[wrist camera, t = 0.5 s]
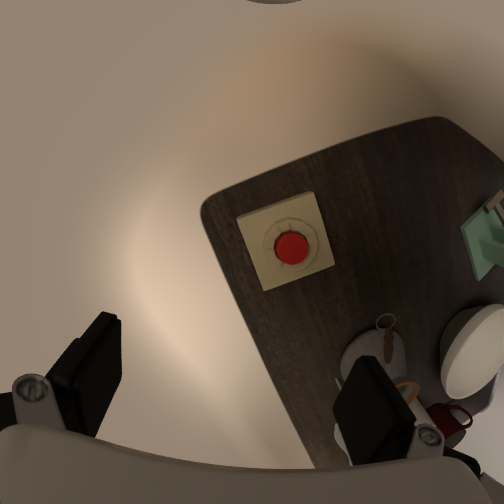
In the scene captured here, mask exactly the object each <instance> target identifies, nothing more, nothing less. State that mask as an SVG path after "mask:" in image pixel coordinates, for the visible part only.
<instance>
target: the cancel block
mask: <svg viewBox="0 0 504 504" xmlns="http://www.w3.org/2000/svg"><path fill="white" fill-rule="evenodd" d="M237 222H238V225H239V227H240V230H241V233H242V235H243V238H244V241H245V243H246V246H247V248H248V251H249V254H250V256H251V259H252V261H253V264H254V267H255V269H256V272H257V274H258V277H259V279H260V282H261V285H262V287H263V290H264V291H266V290H269V289H272V288H275V287H277V286H280V285H283V284H286V283H288V282H291V281H294V280H296V279H299V278H302V277H304V276H307V275H310V274H312V273H315V272H318V271H320V270H323V269H326V268H328V267H331V266H333V265H335V262H334V258H333V255H332V251H331V248H330V244H329V241H328V237H327V234H326V230H325V227H324V224H323V220H322V217H321V214H320V211H319V207H318V204H317V201H316V198H315V195H314V192H311V191H308V192H305V193H302V194H299V195H296V196H293V197H290V198H288V199H285V200H282V201H279V202H276V203H274V204H271V205H268V206H265V207H263V208H260V209H257V210H254V211H252V212H249V213H246V214H244V215H241V216H238V217H237ZM286 232H296V233H299V234H300V235H301V236H302V237H303V238H304V239H305V240H306V242H307V244H308V254H307V256H306V258H305V259H304V260H303V261H302V262H300V263H298V264H295V265H289V264H286V263H284V262H283V261H282V260H281V259H280V258H279V256H278V253H277V251H276V242H277V240H278V238H279V237H280V236H281V235H282V234H284V233H286Z"/></svg>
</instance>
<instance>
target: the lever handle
mask: <svg viewBox="0 0 504 504" xmlns="http://www.w3.org/2000/svg"><path fill="white" fill-rule="evenodd" d="M503 197H504V193H503V191H502V190H498V191H497V192H496V193H495V194H494V195H493V196H492V197H491V198H490V200H489V201H488V202H487V203H486V204H485V205H484V206H483V210H484V212H485V213H487V214H489V213H490V211H491V210H492V209H494V210H495V212H496V214H497V216H498V217H499V219H500V221H501V223H502V225H503V227H504V210H503V209H502V207H501V205H500V203H499V202H500V201H501V199H502V198H503Z"/></svg>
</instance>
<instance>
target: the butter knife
mask: <svg viewBox="0 0 504 504" xmlns="http://www.w3.org/2000/svg"><path fill="white" fill-rule="evenodd" d="M334 438H335V440H336V441H337V443H338V445H339V446H340V447H341V448H342V449H343V450H344V451H345V453H346V454H347V455H348V458H349V462H350V466H353V465H352V462H351V459H350V456H349V454H348V451H347V448H346V446H345V443H344V442H343V441H342V440H341V438H340V436H339V433H338V424H337V423H336V424H335V431H334Z"/></svg>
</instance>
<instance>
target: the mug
mask: <svg viewBox="0 0 504 504" xmlns="http://www.w3.org/2000/svg"><path fill="white" fill-rule="evenodd" d="M452 408H453V409H458V410H461V411H463V412H464V413H465V414H467V415H468V416H469V418H470V422H469V423H468V424H467V425H462V424H460V423H459V421H458V420H457V419H456V418H455V417H454V416H453V415H452V414H451V413H450V412H449V409H452ZM425 411H426V412H427V414H428V415H429V417H430V418H431V420H432V421H433V423H434V424H435V426H436V427H437V428H438V429H439V430H440V431H441V432H442V433H443V436H444V446H447V447H449V448H451V449H452V448H454V447H455V446H456V445H457V444H458V443H459V442H460V441H461V440H462V439H463V437H464V436H465V434H466V430H465V429H466V428H469V427H470V426H471V425H472V422H473V419H472V416H471V415H470V413H469V412H468V411H466V410H465V409H464V408H462V407H460V406H457V405H448V406H443V405H442V404H441V403H437V404H435V405H432V406H431V407H429V408H428V409H427V410H425Z"/></svg>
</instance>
